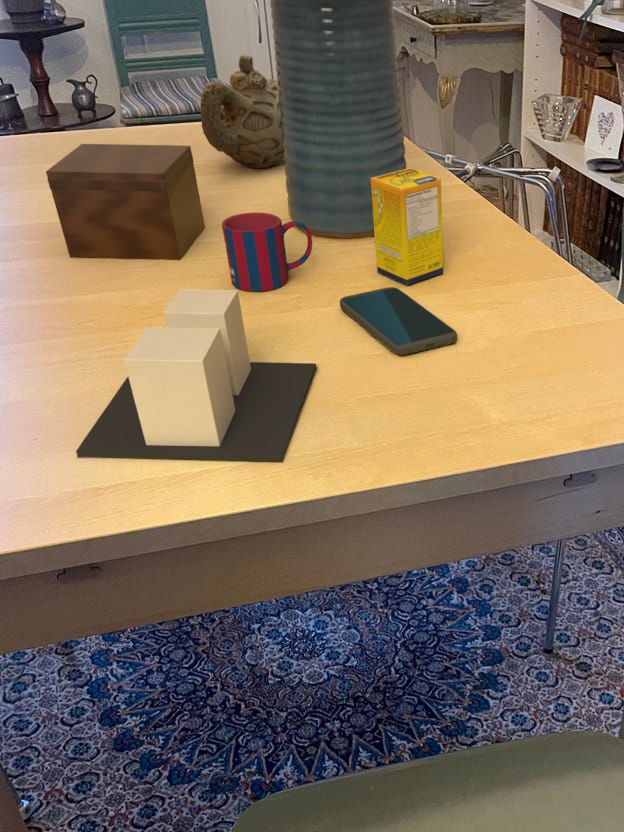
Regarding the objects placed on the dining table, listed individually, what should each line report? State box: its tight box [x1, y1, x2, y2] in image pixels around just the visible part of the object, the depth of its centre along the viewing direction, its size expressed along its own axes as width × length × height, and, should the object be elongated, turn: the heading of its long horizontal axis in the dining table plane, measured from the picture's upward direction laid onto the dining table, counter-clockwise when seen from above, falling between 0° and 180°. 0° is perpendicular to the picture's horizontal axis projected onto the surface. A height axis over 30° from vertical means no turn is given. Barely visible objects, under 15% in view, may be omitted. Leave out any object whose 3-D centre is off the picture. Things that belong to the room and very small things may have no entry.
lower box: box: [162, 288, 251, 395], centre depth 88 cm, size 6×6×8 cm
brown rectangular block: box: [45, 143, 206, 261], centre depth 118 cm, size 14×12×10 cm
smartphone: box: [339, 286, 458, 356], centre depth 102 cm, size 8×15×1 cm, turn 31°
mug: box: [221, 212, 313, 293], centre depth 110 cm, size 7×10×7 cm
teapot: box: [200, 54, 284, 169], centre depth 141 cm, size 21×12×15 cm, turn 159°
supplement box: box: [371, 167, 444, 287], centre depth 110 cm, size 6×6×11 cm
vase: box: [269, 0, 407, 239], centre depth 118 cm, size 16×16×32 cm
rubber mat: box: [75, 361, 318, 463], centre depth 88 cm, size 18×18×1 cm
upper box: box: [123, 326, 235, 446], centre depth 82 cm, size 6×6×8 cm
